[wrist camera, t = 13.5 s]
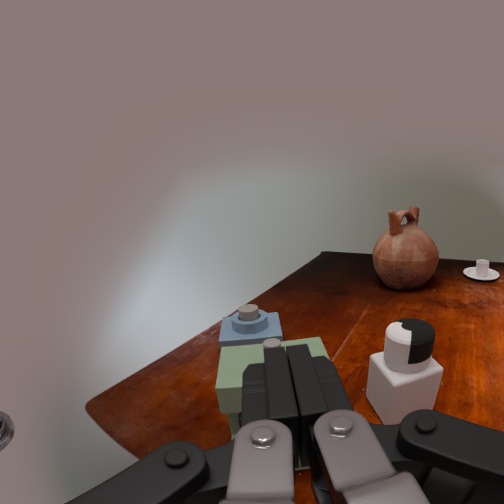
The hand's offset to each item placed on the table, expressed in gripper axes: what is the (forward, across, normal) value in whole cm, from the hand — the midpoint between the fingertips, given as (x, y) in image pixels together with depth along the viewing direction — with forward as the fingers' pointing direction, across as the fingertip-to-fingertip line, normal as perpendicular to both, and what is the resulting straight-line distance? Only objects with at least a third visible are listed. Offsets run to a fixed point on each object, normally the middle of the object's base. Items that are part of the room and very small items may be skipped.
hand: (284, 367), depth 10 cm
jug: (+62, -38, +23) cm, 76 cm away
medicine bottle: (+19, -16, +23) cm, 33 cm away
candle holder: (+57, -63, +23) cm, 88 cm away
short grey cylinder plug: (+43, +3, +18) cm, 47 cm away
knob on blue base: (+43, +3, +23) cm, 49 cm away
